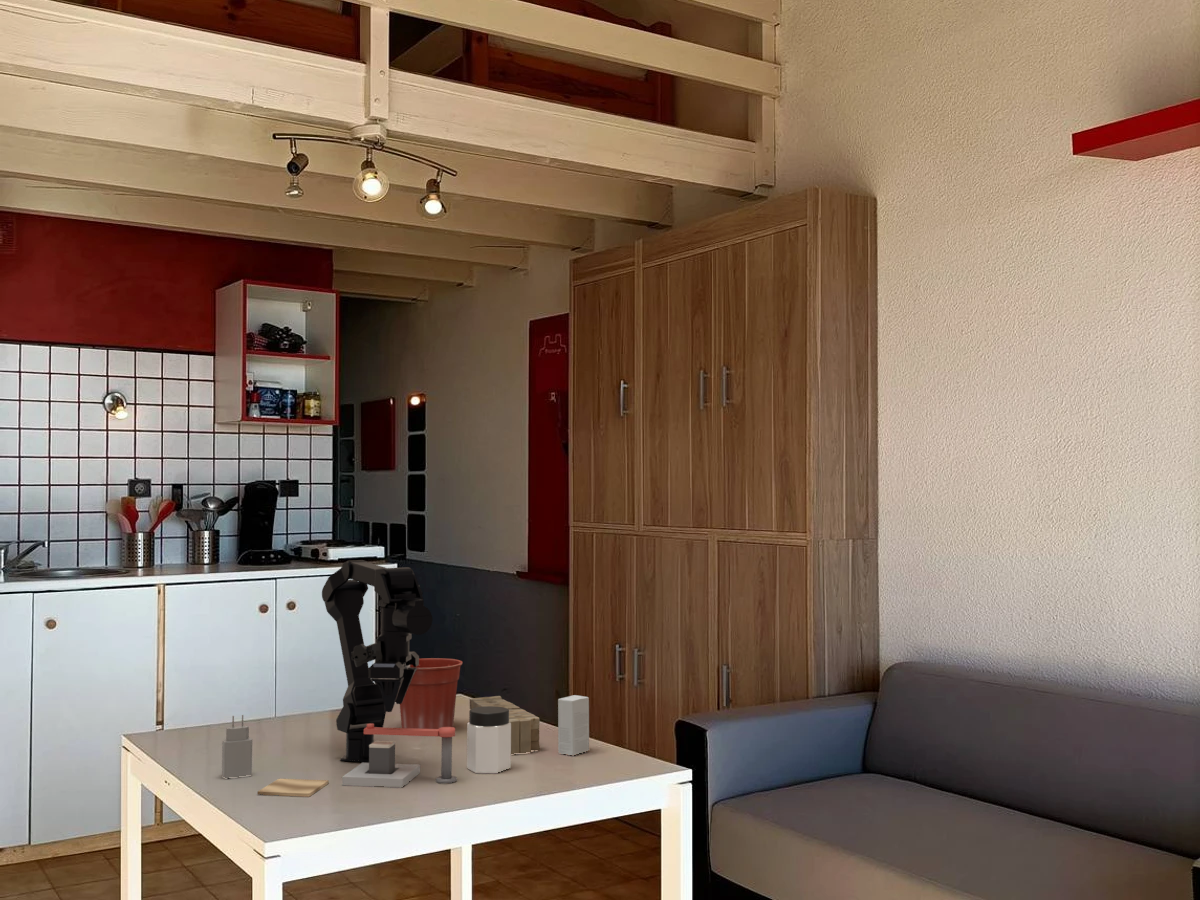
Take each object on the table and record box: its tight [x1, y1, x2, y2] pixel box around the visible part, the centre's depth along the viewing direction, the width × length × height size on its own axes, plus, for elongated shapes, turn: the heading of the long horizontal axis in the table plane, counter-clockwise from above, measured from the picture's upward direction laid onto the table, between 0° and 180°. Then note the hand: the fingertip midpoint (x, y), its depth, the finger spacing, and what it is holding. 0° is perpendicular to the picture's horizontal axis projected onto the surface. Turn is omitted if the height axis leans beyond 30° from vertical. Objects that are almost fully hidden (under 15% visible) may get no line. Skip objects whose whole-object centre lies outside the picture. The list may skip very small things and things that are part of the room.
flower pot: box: [399, 657, 463, 729], centre depth 270 cm, size 16×16×16 cm
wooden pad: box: [256, 778, 329, 798], centre depth 214 cm, size 10×10×1 cm
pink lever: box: [364, 723, 456, 738], centre depth 222 cm, size 18×3×2 cm, turn 83°
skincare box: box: [557, 694, 590, 755], centre depth 246 cm, size 6×4×12 cm
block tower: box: [469, 695, 540, 754], centre depth 258 cm, size 8×8×29 cm
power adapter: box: [221, 714, 253, 778], centre depth 224 cm, size 3×5×12 cm, turn 122°
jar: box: [466, 706, 512, 774], centre depth 231 cm, size 9×8×12 cm
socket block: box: [341, 737, 458, 788], centre depth 222 cm, size 12×21×9 cm, turn 83°
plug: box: [368, 740, 396, 774], centre depth 223 cm, size 4×4×7 cm
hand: (394, 707), depth 228 cm, fingers open, 8 cm apart
